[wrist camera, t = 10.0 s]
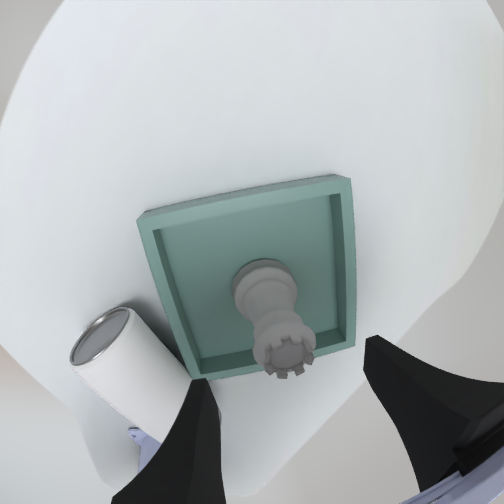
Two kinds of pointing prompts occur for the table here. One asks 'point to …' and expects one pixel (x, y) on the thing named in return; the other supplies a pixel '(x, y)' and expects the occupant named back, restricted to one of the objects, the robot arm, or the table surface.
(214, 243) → the tray
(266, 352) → the rook chess piece
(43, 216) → the table surface
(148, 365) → the can
